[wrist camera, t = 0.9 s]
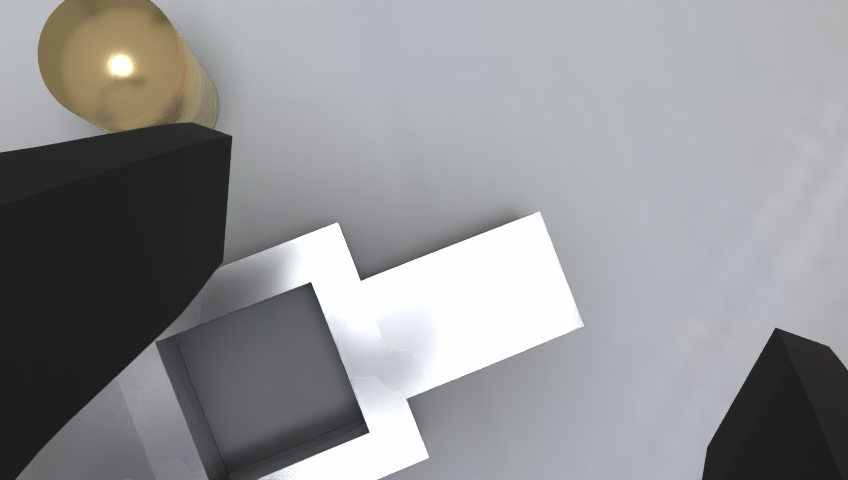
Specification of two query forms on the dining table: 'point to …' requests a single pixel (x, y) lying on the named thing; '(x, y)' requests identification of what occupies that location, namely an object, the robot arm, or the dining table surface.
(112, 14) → the brass pin
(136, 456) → the chain
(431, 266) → the chain
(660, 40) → the dining table surface
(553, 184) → the dining table surface
